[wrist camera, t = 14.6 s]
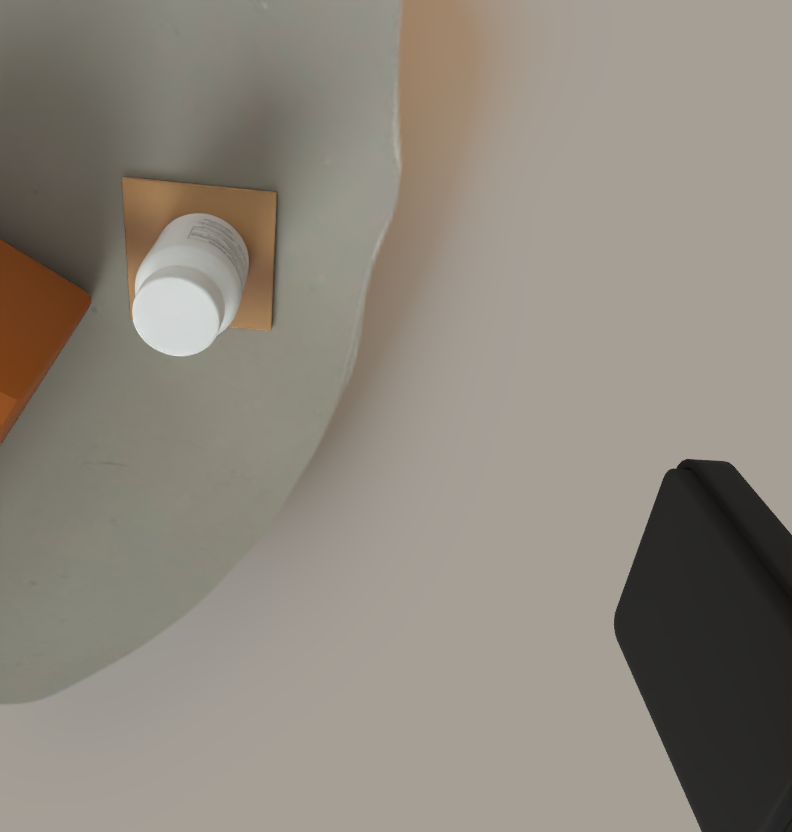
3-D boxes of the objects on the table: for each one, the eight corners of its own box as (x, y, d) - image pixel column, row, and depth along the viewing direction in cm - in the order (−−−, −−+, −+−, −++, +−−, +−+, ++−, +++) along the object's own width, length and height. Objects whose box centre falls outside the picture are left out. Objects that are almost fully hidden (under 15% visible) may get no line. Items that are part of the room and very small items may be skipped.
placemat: (123, 176, 34) (121, 177, 34) (276, 191, 35) (276, 193, 35) (131, 317, 38) (130, 320, 37) (271, 328, 39) (271, 330, 38)
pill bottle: (181, 310, 37) (149, 381, 31) (141, 227, 35) (98, 284, 28) (263, 284, 37) (249, 350, 30) (229, 199, 35) (205, 250, 28)
